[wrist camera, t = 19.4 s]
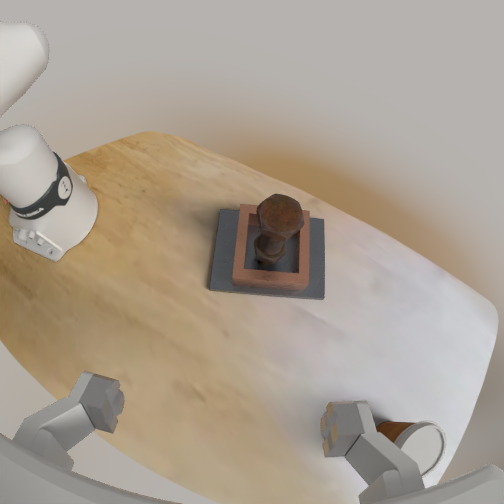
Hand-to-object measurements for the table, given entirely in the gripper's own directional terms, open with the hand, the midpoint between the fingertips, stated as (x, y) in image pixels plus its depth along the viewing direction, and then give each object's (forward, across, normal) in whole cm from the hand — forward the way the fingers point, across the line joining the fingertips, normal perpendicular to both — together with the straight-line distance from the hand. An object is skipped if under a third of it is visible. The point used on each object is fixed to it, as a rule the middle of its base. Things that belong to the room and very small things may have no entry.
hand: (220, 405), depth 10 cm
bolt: (+36, -3, +11) cm, 38 cm away
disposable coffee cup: (+16, -26, +33) cm, 45 cm away
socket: (+38, -4, +11) cm, 40 cm away
